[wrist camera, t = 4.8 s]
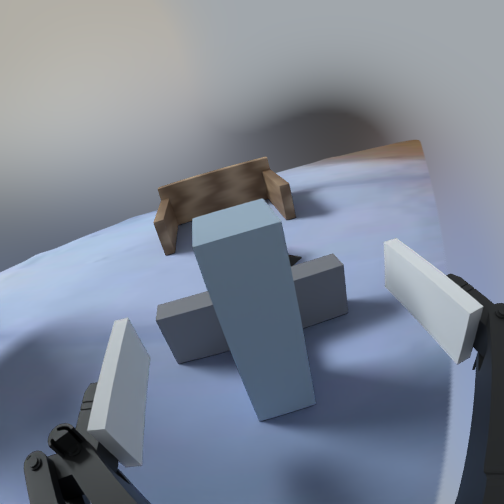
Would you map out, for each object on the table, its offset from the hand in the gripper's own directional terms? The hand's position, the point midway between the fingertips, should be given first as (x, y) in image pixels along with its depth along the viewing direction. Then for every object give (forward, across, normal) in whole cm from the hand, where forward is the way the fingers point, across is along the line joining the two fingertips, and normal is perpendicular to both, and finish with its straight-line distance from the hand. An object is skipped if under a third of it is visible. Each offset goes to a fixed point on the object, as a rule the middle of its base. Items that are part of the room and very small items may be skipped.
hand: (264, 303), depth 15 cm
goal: (+35, -1, -8) cm, 36 cm away
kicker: (+4, 0, -8) cm, 9 cm away
